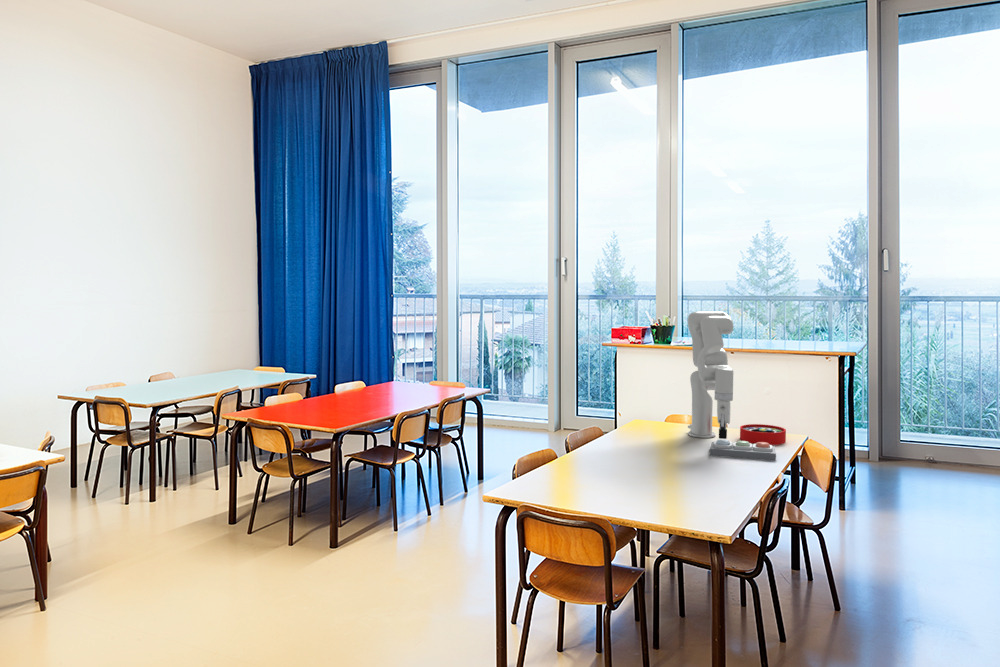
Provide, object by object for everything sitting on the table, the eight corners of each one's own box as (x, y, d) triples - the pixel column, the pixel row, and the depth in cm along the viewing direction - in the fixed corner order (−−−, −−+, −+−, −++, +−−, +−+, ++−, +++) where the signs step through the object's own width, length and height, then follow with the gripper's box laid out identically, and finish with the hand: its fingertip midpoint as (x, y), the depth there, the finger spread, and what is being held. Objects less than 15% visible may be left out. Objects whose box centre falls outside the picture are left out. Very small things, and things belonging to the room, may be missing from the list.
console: (709, 455, 289) (709, 445, 288) (711, 448, 302) (711, 439, 301) (775, 460, 279) (775, 450, 279) (774, 453, 292) (774, 443, 292)
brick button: (756, 448, 286) (756, 444, 286) (756, 446, 291) (756, 441, 291) (769, 449, 284) (769, 445, 284) (768, 447, 289) (769, 442, 289)
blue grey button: (716, 446, 292) (716, 441, 292) (717, 443, 296) (717, 439, 296) (728, 446, 290) (728, 442, 290) (729, 444, 295) (729, 439, 294)
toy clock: (747, 432, 308) (735, 424, 328) (746, 445, 308) (734, 435, 328) (792, 433, 306) (777, 424, 326) (792, 445, 307) (777, 436, 327)
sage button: (736, 447, 289) (736, 442, 289) (736, 444, 294) (736, 440, 293) (748, 448, 287) (748, 443, 287) (748, 445, 292) (749, 441, 292)
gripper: (732, 400, 284) (731, 443, 285) (733, 394, 298) (732, 435, 299) (713, 398, 286) (712, 441, 288) (715, 393, 300) (714, 433, 302)
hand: (722, 438), depth 293 cm, fingers closed
